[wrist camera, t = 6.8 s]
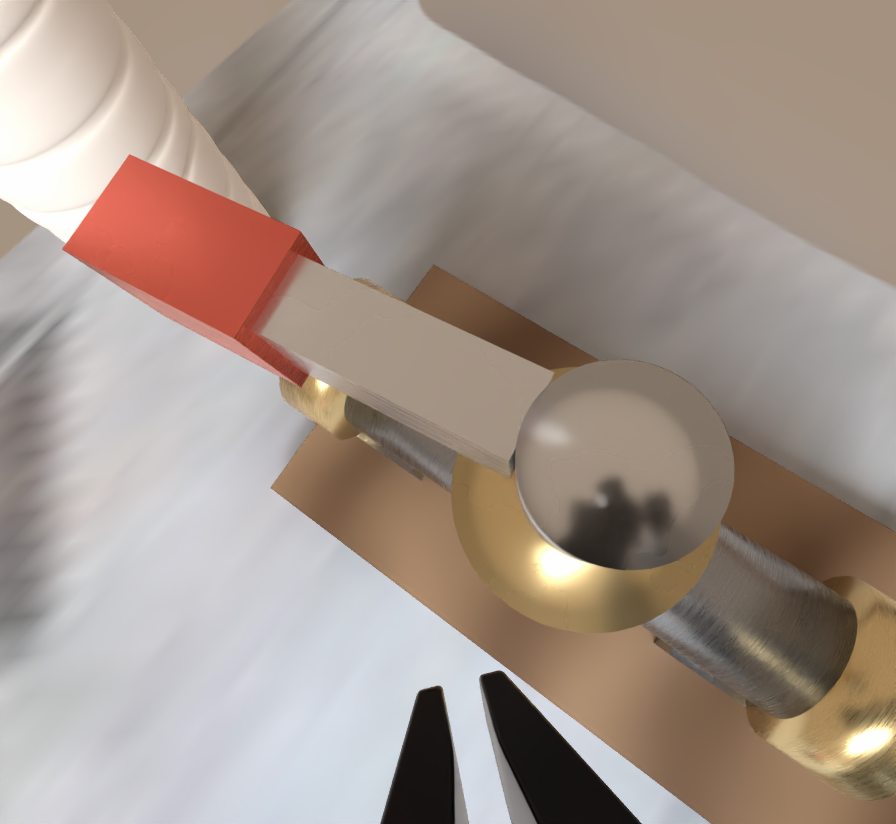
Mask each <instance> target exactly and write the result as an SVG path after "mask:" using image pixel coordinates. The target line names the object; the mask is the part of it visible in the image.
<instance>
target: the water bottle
mask: <svg viewBox="0 0 896 824" xmlns="http://www.w3.org/2000/svg"><path fill="white" fill-rule="evenodd" d="M129 154H130V155H133V156H135V157H137V158H139V159H141V160H144V161H146V162H148V163H150V164H152V165H155V166H157V167H159V168H161V169H164V170H166V171H168V172H170V173H172V174H175V175H177V176H179V177H181V178H184V179H186V180H188V181H190V182H192V183H195V184H197V185H199V186H201V187H204V188H206V189H208V190H210V191H212V192H215V193H217V194H219V195H221V196H224V197H226V198H228V199H230V200H232V201H235V202H237V203H239V204H241V205H244V206H246V207H248V208H250V209H252V210H255V211H257V212H259V213H261V214H263V215H266V216H268V217H270V215H269V214H268V213H267V211H266V210H265V208H264V207H263V206H262V205H261V203H260V202H259V200H258V199H257V198H256V196H255V195H254V194H253V193H252V191H251V190H250V189H249V188H248V187H247V186H246V185H245V184H244V182H243V181H242V179H241V177H240V176H239V174H238V173H237V171H236V170H235V169H234V167H233V166H232V165H231V163H230V162H229V161H228V160H227V159H226V157H225V156H224V155H223V154H222V153H221V152H220V151H219V149H218V148H217V146H216V144H215V143H214V141H213V140H212V138H211V137H210V135H209V134H208V133H207V131H206V130H205V129H204V127H203V126H202V125H201V124H200V123H199V122H198V120H197V119H196V118H195V117H193V116H192V115H191V114H190V112H189V110H188V108H187V106H186V104H185V102H184V101H183V99H182V98H181V97H180V95H179V94H178V93H177V91H176V90H175V89H174V87H173V86H172V85H171V84H170V82H169V81H168V80H167V79H166V78H165V77H164V76H163V75H162V74H161V73H160V72H159V71H158V69H157V67H156V65H155V64H154V62H153V60H152V59H151V57H150V56H149V54H148V53H147V52H146V50H145V49H144V47H143V46H142V45H141V43H140V42H139V40H138V39H137V38H136V37H135V35H134V34H133V33H132V32H131V30H130V29H129V28H128V27H127V25H126V24H125V23H124V22H123V21H122V20H121V19H120V18H119V17H118V16H117V15H116V14H115V13H114V11H113V9H112V7H111V5H110V4H109V2H108V0H0V198H1V199H2V200H4V201H6V202H8V203H10V204H12V205H13V206H14V207H15V208H16V209H17V210H18V211H20V212H21V213H22V214H23V215H25V216H26V217H28V218H29V219H31V220H32V221H34V222H35V223H37V224H39V225H41V226H43V227H45V228H47V229H49V230H50V231H51V232H52V233H53V234H54V235H56V236H57V237H58V238H60V239H61V240H62V241H64V242H65V243H67V242H68V240H69V239H70V237H71V236H72V235H73V233H74V232H75V230H76V229H77V228H78V226H79V225H80V223H81V222H82V220H83V219H84V218H85V216H86V215H87V213H88V212H89V211H90V209H91V208H92V206H93V205H94V203H95V202H96V201H97V199H98V198H99V196H100V195H101V194H102V192H103V191H104V189H105V188H106V186H107V185H108V184H109V182H110V181H111V179H112V178H113V177H114V175H115V174H116V172H117V171H118V170H119V168H120V167H121V165H122V164H123V162H124V161H125V160H126V158H127V157H128V155H129ZM270 218H271V217H270Z"/></svg>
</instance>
